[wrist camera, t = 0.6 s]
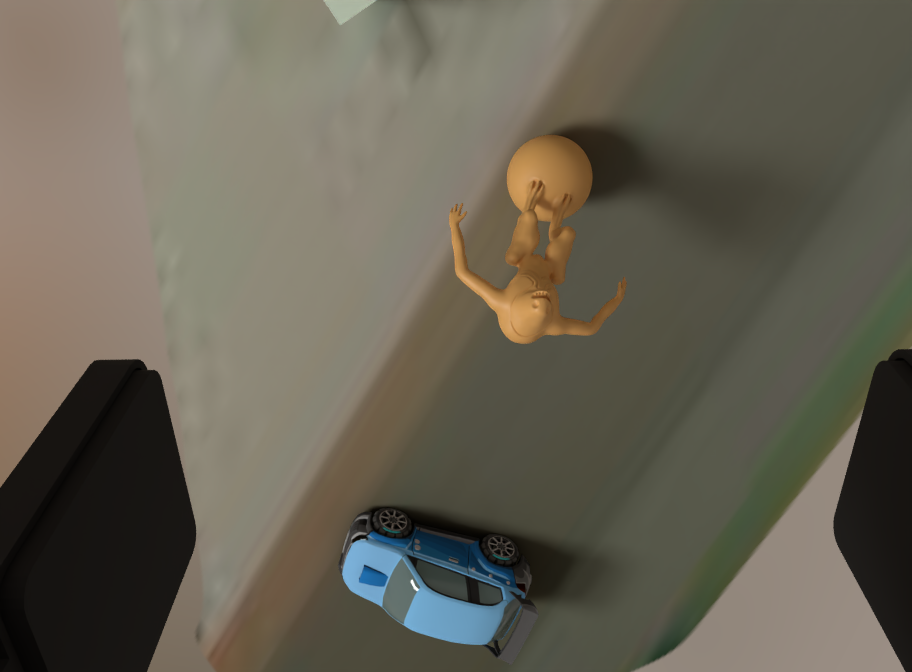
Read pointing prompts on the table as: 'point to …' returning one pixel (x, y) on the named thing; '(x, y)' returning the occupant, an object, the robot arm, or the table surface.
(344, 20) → the green block
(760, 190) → the table surface
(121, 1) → the table surface
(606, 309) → the figurine
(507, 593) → the toy car
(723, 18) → the table surface
